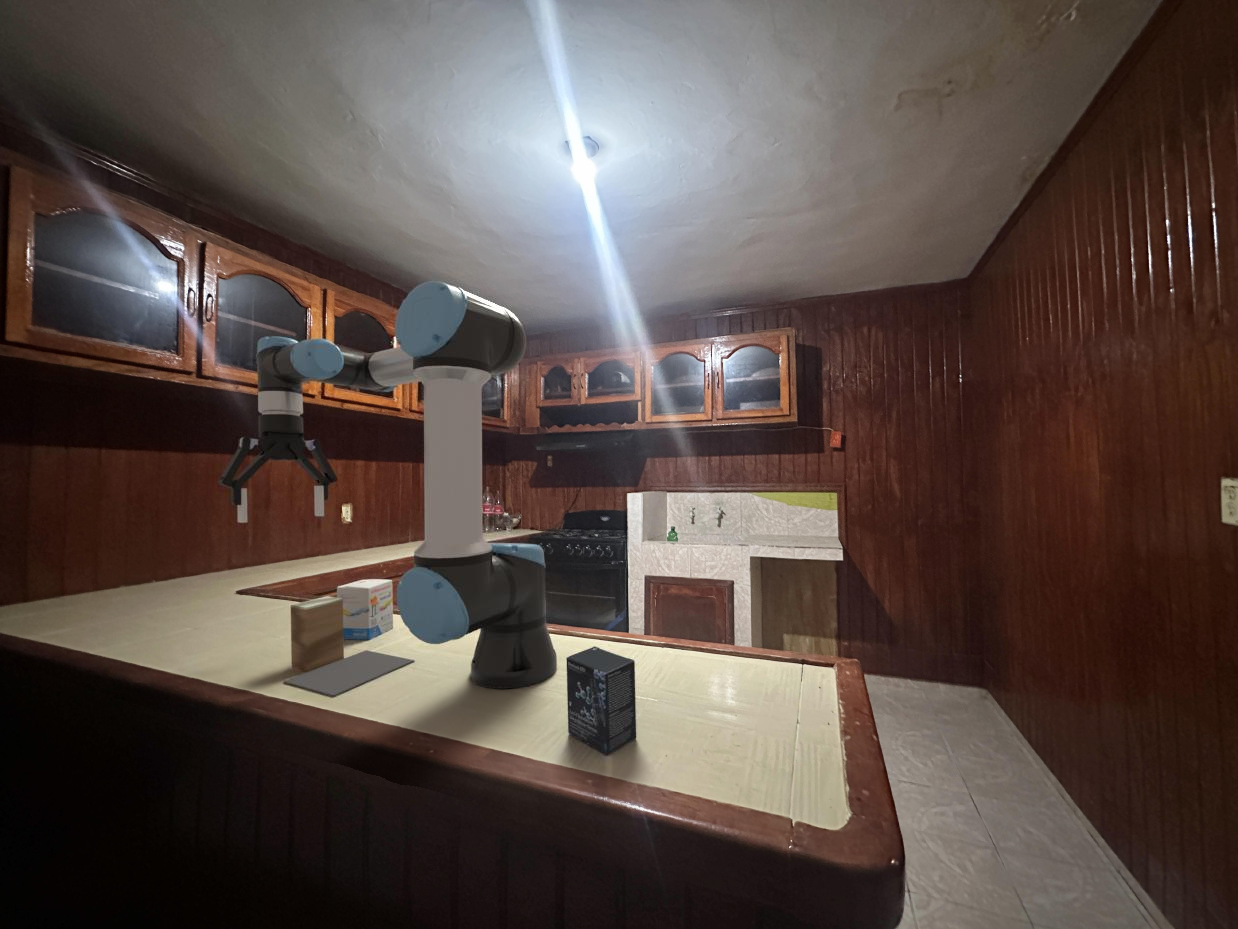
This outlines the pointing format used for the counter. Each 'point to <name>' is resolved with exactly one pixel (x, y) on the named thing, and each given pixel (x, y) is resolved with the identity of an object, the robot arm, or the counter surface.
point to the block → (316, 633)
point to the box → (601, 699)
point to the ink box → (366, 608)
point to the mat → (348, 673)
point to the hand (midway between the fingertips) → (283, 519)
